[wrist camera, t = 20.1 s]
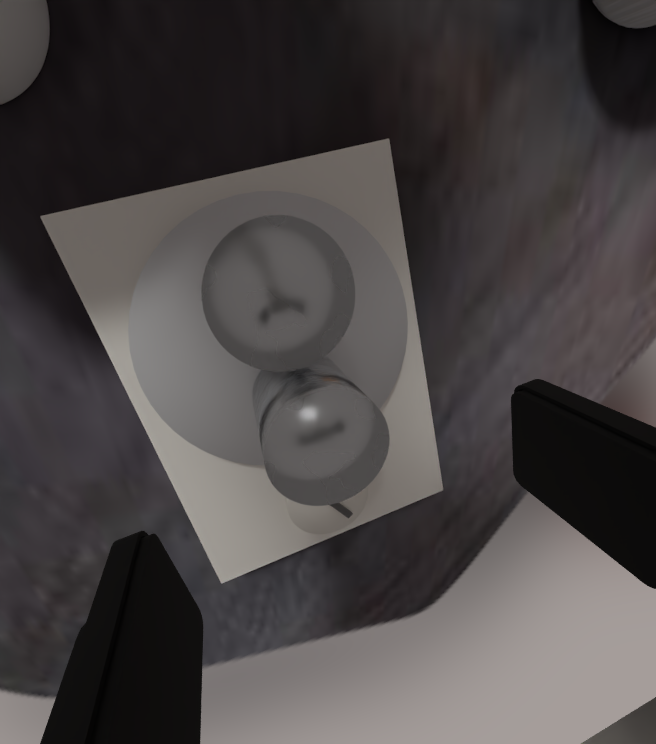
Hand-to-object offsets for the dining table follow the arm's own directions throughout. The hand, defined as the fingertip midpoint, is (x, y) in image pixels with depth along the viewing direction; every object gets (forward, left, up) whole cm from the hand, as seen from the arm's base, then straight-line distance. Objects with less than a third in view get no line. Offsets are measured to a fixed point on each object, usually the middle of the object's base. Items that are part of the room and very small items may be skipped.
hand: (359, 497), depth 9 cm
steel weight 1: (-5, 0, -11) cm, 12 cm away
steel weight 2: (+1, 0, -11) cm, 11 cm away
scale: (+2, 0, -15) cm, 15 cm away
